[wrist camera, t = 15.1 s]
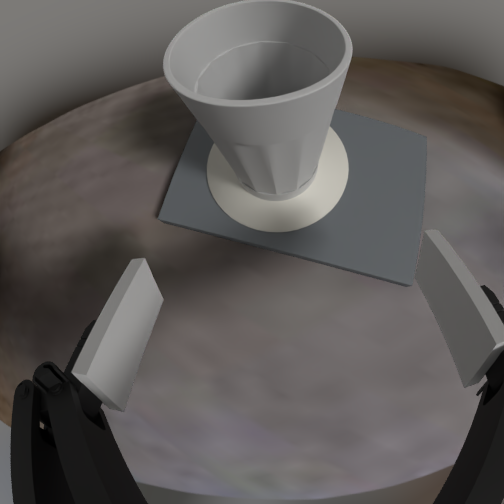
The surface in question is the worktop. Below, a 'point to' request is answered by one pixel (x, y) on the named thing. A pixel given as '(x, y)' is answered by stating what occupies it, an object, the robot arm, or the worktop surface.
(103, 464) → the robot arm
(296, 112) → the cup
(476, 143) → the worktop surface
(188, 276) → the worktop surface
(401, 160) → the board
